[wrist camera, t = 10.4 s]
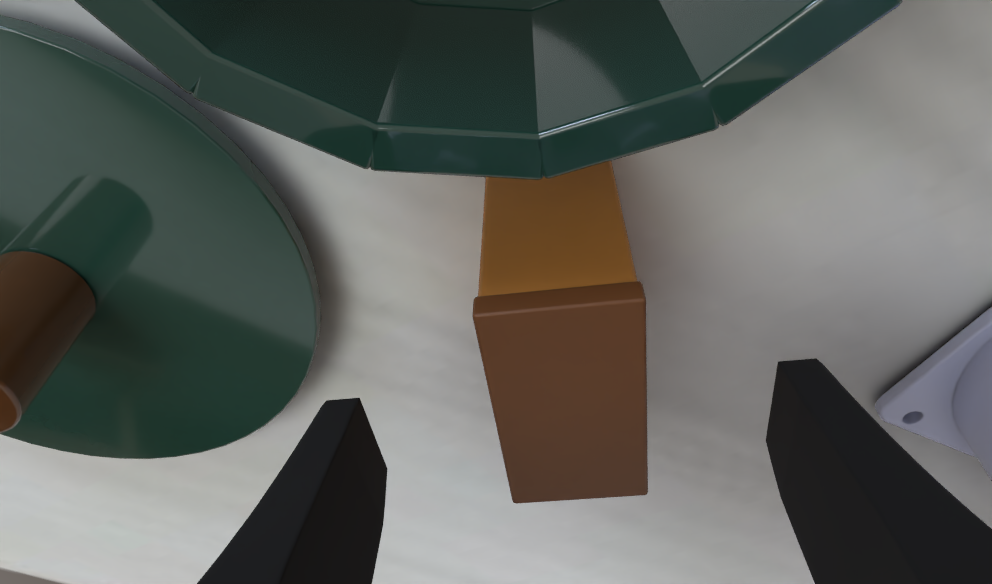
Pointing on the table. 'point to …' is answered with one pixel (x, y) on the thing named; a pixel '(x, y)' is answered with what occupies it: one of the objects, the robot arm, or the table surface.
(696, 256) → the table surface
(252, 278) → the lid
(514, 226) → the brown block
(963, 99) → the table surface
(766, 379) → the table surface
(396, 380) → the table surface
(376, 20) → the pot
